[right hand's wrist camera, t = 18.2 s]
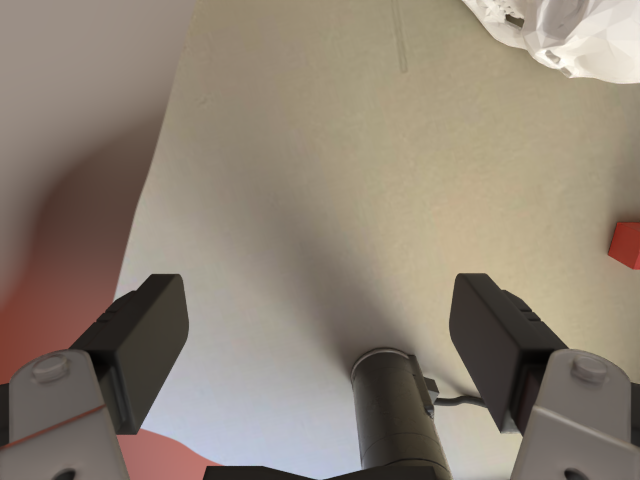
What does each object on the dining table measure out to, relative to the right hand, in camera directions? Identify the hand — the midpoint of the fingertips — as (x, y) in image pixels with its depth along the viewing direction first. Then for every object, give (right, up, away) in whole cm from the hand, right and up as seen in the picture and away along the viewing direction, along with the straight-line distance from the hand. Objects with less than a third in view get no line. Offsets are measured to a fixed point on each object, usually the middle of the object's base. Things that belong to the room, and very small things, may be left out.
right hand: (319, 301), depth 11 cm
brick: (+38, +2, +36) cm, 53 cm away
